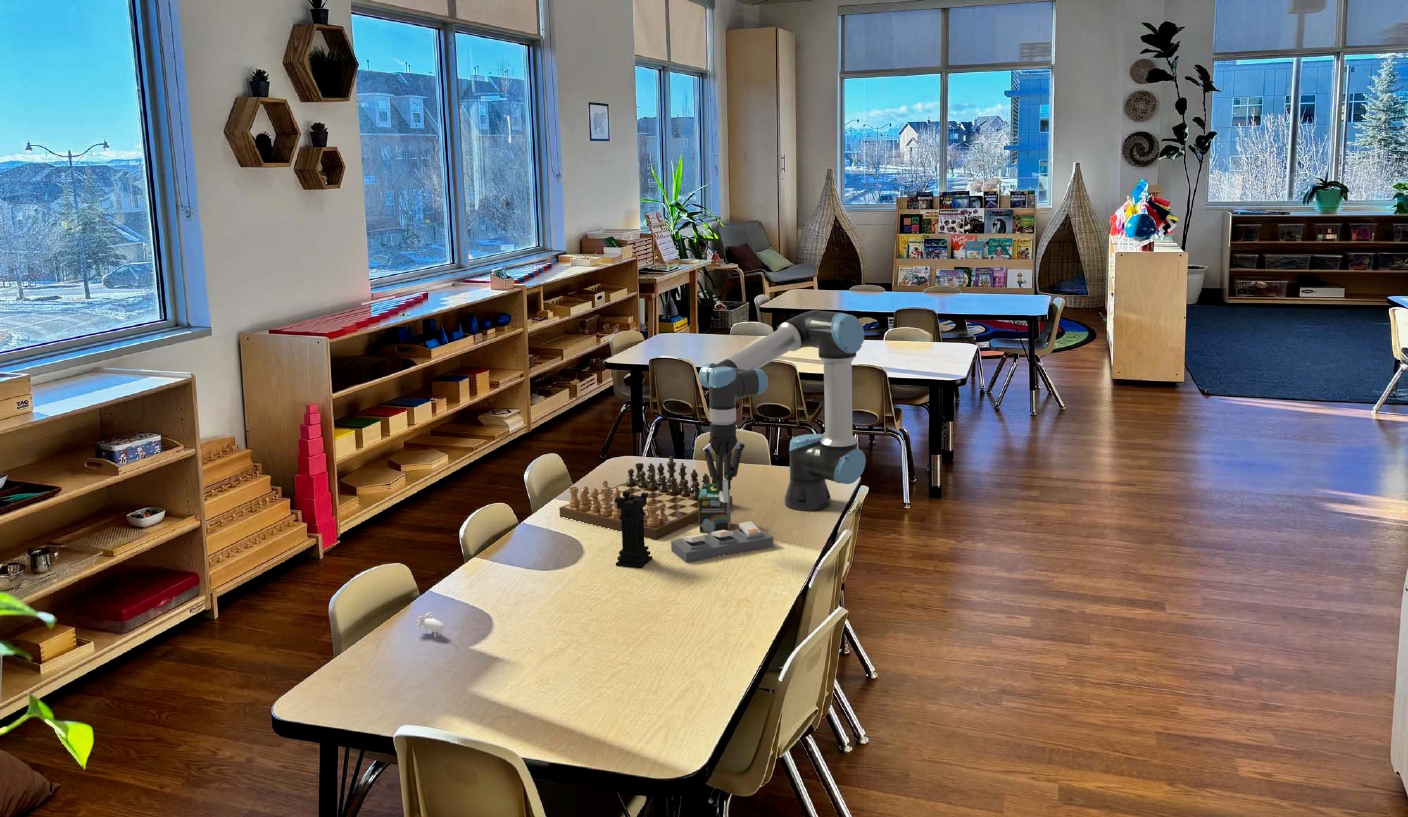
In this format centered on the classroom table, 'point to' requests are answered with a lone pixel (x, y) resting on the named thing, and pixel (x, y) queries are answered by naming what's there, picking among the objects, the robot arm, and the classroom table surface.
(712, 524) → the chalk box
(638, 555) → the chess piece
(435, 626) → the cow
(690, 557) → the rocker switch panel
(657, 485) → the chess set
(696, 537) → the rocker
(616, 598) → the classroom table surface
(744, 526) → the rocker
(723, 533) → the middle rocker
